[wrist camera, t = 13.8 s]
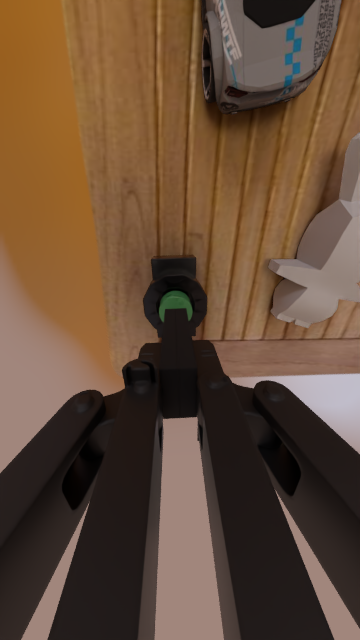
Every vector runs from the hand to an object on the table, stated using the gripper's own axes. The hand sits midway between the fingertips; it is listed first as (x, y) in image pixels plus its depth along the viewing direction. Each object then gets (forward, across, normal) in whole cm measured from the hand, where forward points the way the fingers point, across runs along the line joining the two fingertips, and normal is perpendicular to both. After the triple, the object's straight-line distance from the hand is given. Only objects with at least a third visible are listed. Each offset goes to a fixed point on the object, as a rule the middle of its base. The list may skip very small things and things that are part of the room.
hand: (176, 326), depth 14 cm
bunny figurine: (+8, +15, +4) cm, 17 cm away
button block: (+8, 0, 0) cm, 8 cm away
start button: (+4, 0, 0) cm, 4 cm away
